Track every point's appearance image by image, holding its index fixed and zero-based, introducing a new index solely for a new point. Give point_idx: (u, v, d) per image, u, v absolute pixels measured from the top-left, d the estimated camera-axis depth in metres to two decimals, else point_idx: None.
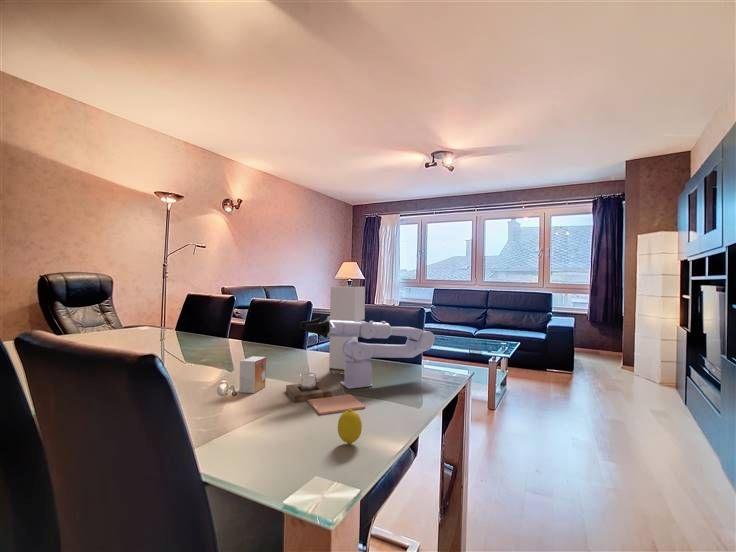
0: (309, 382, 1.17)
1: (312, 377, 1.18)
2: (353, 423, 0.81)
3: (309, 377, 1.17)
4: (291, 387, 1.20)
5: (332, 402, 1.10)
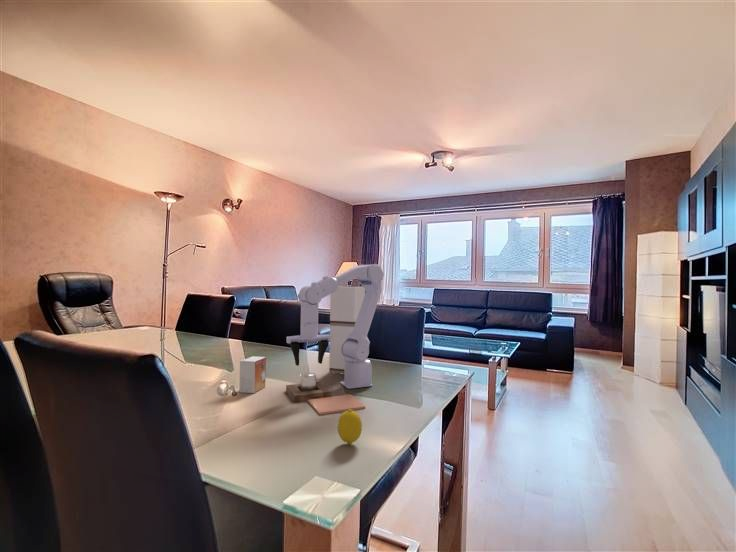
0: (309, 382, 1.17)
1: (312, 377, 1.18)
2: (353, 423, 0.81)
3: (309, 377, 1.17)
4: (291, 387, 1.20)
5: (332, 402, 1.10)
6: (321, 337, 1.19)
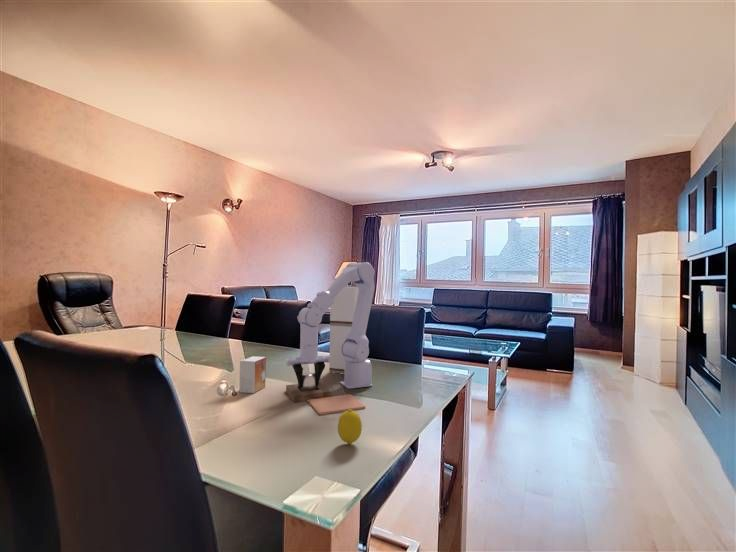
0: (309, 382, 1.17)
1: (312, 377, 1.18)
2: (353, 423, 0.81)
3: (309, 377, 1.17)
4: (291, 387, 1.20)
5: (332, 402, 1.10)
6: (321, 359, 1.19)
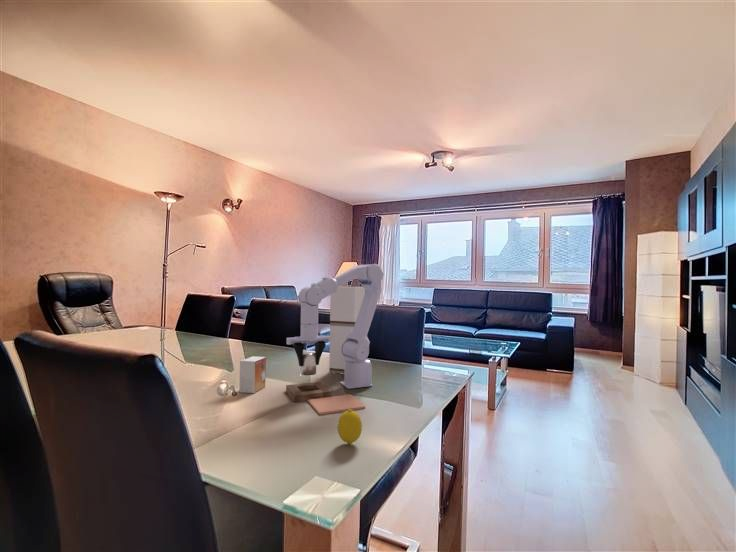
0: (309, 361, 1.17)
1: (312, 356, 1.18)
2: (353, 423, 0.81)
3: (309, 356, 1.17)
4: (291, 387, 1.20)
5: (332, 402, 1.10)
6: (321, 338, 1.19)
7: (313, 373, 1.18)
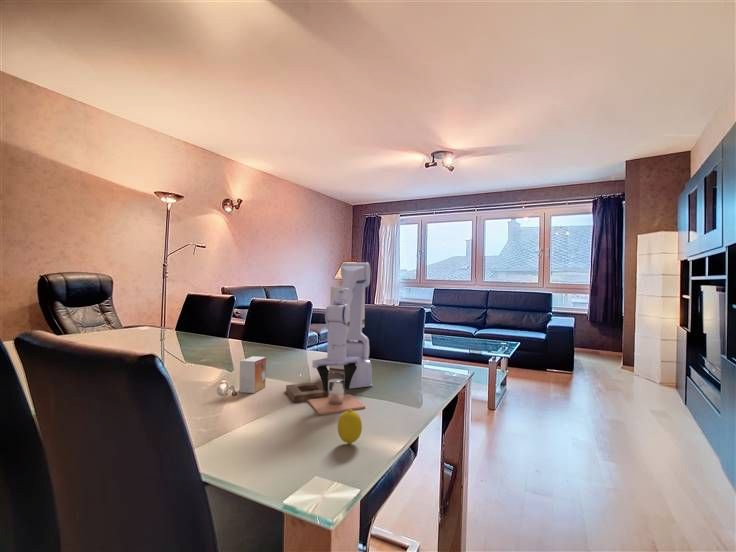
0: (338, 389, 1.08)
1: (341, 384, 1.08)
2: (353, 423, 0.81)
3: (338, 384, 1.08)
4: (291, 387, 1.20)
5: None
6: (350, 360, 1.09)
7: (342, 402, 1.08)
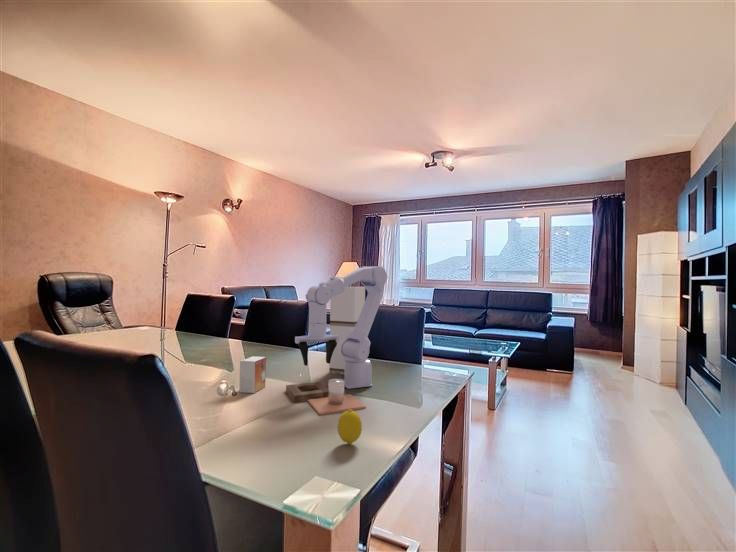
0: (338, 389, 1.08)
1: (341, 383, 1.08)
2: (353, 423, 0.81)
3: (338, 384, 1.08)
4: (291, 387, 1.20)
5: None
6: (329, 337, 1.20)
7: (342, 402, 1.08)
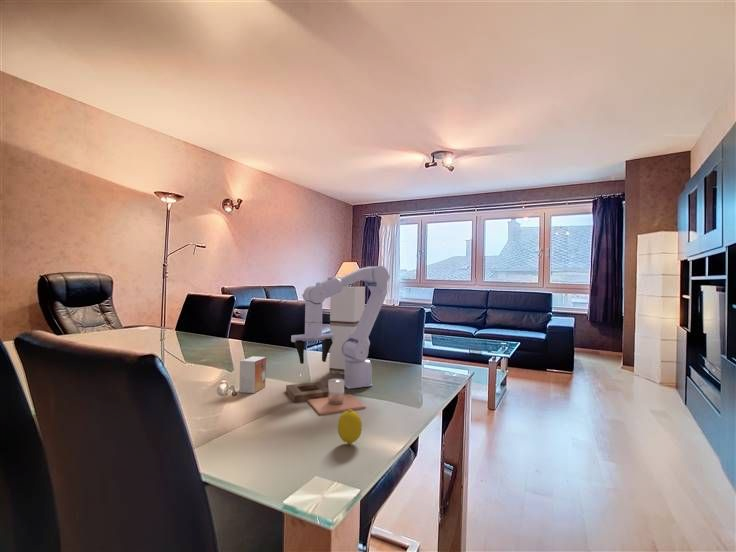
0: (338, 389, 1.08)
1: (341, 383, 1.09)
2: (353, 423, 0.81)
3: (338, 383, 1.08)
4: (291, 387, 1.20)
5: None
6: (325, 336, 1.22)
7: (342, 402, 1.09)
